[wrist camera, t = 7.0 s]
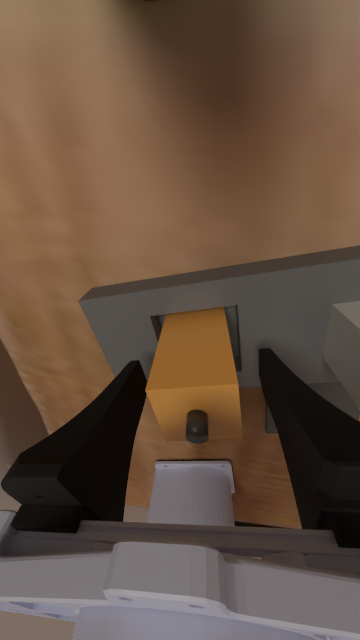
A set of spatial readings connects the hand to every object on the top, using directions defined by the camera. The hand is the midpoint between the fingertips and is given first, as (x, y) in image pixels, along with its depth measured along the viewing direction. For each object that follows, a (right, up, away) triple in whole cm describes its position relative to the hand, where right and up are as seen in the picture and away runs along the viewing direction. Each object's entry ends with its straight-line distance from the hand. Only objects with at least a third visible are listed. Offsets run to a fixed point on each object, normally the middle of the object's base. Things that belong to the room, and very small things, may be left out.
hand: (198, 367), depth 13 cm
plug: (0, +2, +3) cm, 4 cm away
